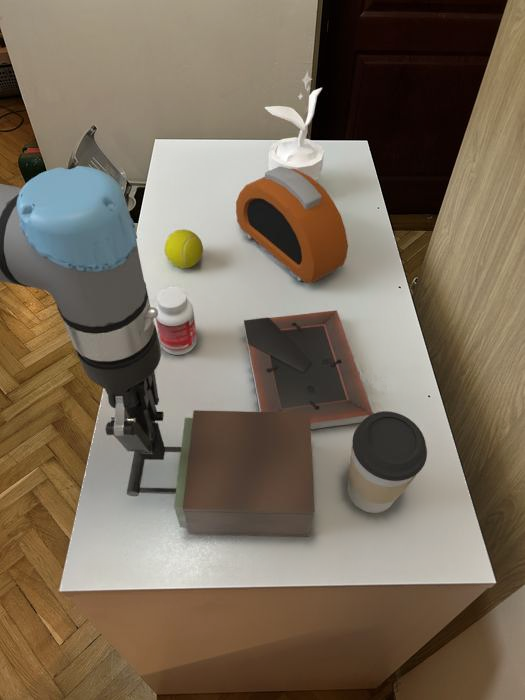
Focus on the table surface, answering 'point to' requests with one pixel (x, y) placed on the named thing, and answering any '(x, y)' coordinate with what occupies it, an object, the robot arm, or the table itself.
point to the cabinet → (249, 474)
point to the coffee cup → (384, 460)
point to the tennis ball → (183, 248)
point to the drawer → (179, 490)
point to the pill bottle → (175, 321)
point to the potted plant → (297, 140)
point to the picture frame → (306, 368)
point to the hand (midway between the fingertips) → (153, 454)
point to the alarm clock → (294, 222)
